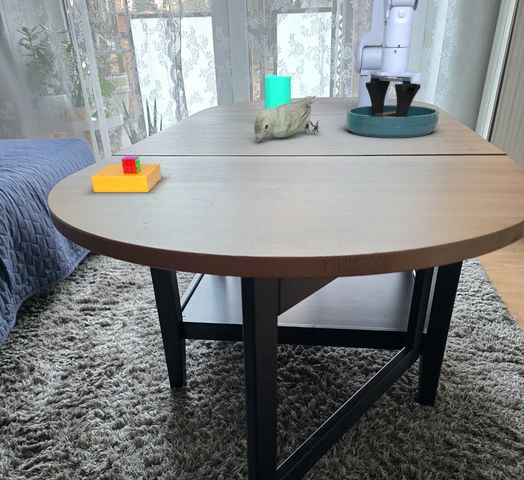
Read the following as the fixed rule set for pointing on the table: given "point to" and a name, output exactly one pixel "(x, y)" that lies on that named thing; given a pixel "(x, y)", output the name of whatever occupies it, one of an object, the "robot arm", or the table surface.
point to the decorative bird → (285, 119)
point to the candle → (277, 90)
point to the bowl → (392, 122)
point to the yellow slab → (127, 176)
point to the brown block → (386, 114)
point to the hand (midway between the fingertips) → (388, 118)
